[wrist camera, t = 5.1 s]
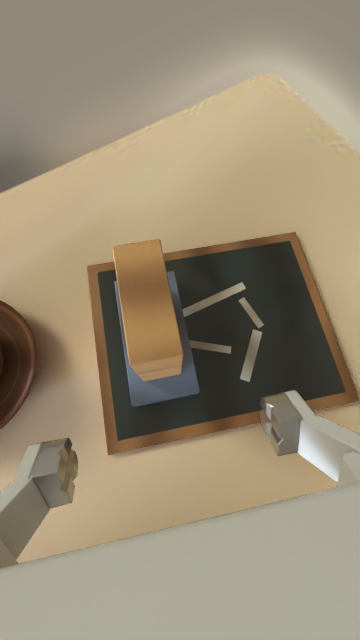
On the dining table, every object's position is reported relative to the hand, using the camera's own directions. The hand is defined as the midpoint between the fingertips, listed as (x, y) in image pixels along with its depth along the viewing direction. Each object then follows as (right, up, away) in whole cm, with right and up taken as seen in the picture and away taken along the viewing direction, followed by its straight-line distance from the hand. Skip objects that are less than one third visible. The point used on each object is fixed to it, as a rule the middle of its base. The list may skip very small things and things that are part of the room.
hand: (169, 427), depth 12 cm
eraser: (-2, +3, +12) cm, 12 cm away
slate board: (+3, +4, +13) cm, 14 cm away
